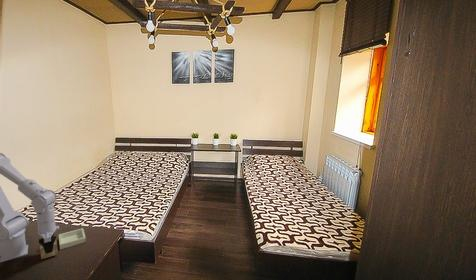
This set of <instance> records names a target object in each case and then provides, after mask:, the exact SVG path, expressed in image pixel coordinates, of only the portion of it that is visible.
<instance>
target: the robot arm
mask: <svg viewBox="0 0 476 280" xmlns="http://www.w3.org/2000/svg"><path fill="white" fill-rule="evenodd" d="M0 175H2V176H3V177H4V178H6V179H8V180H9V181H11V182H12V183H14V184H15V185H17V191H18V192H20V193H21V194H22V195H24V196H25V197H26V198H28V199H29V200H30V201H31V202H30V204H31V207H32V208H34V212H35V215H36V223H37V235H39V236H40V237H41V238H39V239H38V243H39V244H41V245H42V246H43V248H44V251H45V253H46V254H48V253H51V252H52V251H53V245H54V242H55V240H57V235H55V232H56V231H57V230H59V229H60V226H59V225H56V218H55V217H56V216H55V214H56V213H55V205H54V202H56V201H57V198H58V197H57V194H56V193H55V191H54V190H52V189H48V188H44V187H43V186H41V185H40V184H39V183H38V182H37V181H35V180H34V179H27V178H26V177H25V176H24V175H23V174H22V173H21V172H20V171H18V170H17V168H16V167H14V166H13V165H12V164H11V159H10V158H9V157H8V156H7V155H6V154H5V153H2V152H0ZM29 223H30V222H29V219H28V218H27V217H26V216H25V215H24V214H23V212H21V211H17V210H14V208H13V207H12V204H11V202H10V201H9V199H8V198H7V195H6V194H5V192H4V190H3V188H2V186H1V185H0V263H2V262H6V261H9V260H13V259H17V258H21V257H24V256H27V255H28V252H29V244H27V242H26V233H25V232H26V231H27V229H26V228H27V227H28V226H29Z"/></svg>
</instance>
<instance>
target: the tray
mask: <svg viewBox="0 0 476 280" xmlns="http://www.w3.org/2000/svg"><path fill="white" fill-rule="evenodd" d="M58 241H59V242H58V243H59V250H60V251H62V250H66V249H68V248H69V249H70V248H72V247H75V246H78V245H79V246H80V245H83V244H86V243H87V238H86V234H85V230H84V227H81V228H78V229H75V230H70V231H67V232H63V233H59V234H58Z"/></svg>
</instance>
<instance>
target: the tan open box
mask: <svg viewBox="0 0 476 280" xmlns="http://www.w3.org/2000/svg"><path fill="white" fill-rule="evenodd" d="M39 244H40V243H39ZM35 254H36V255H37V254H40V258H41V259H40V260H43V259H47V258H50V257H53V256H57V255H59V254H58V241H57V239H56V240H55V242H54V245H53V251H52V252H51V253H48V254H46V253H45V251H44V248H43V246H42V245H41V244H40V246H39V248H37V249H35Z"/></svg>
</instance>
